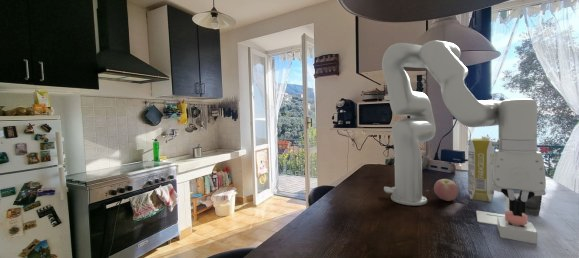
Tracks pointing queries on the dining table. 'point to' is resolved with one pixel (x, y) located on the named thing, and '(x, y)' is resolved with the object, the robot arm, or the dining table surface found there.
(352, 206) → the dining table surface
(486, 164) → the juice carton
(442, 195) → the apple
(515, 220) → the button
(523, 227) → the button box
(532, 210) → the beverage cup
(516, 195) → the marker
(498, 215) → the paper
